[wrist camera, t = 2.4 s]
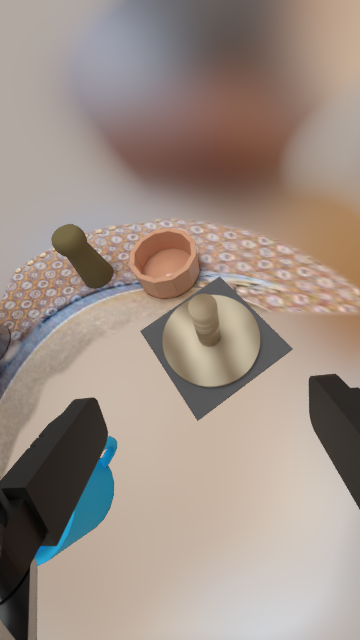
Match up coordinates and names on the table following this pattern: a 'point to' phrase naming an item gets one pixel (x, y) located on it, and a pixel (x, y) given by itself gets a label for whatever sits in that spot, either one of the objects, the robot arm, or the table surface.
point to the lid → (211, 340)
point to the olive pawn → (82, 256)
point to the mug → (87, 506)
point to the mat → (209, 398)
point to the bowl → (165, 262)
